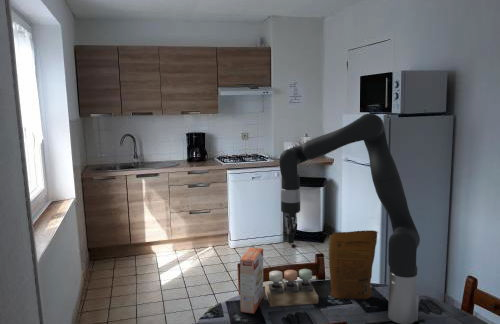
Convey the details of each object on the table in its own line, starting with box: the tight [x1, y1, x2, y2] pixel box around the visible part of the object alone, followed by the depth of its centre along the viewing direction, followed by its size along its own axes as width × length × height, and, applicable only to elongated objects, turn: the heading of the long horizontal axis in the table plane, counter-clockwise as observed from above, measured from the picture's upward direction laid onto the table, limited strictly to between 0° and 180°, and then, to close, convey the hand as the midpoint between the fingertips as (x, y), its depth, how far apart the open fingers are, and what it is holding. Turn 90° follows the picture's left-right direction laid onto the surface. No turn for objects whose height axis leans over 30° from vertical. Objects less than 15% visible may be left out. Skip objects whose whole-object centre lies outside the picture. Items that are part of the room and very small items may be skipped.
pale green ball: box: [298, 268, 313, 284], centre depth 163 cm, size 5×5×5 cm
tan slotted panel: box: [264, 280, 319, 307], centre depth 163 cm, size 19×13×5 cm
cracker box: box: [239, 247, 264, 315], centre depth 157 cm, size 14×6×21 cm, turn 164°
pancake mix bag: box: [328, 230, 378, 300], centre depth 161 cm, size 7×19×28 cm, turn 86°
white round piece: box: [268, 270, 284, 286], centre depth 162 cm, size 5×5×5 cm
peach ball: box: [283, 269, 298, 285], centre depth 163 cm, size 5×5×5 cm
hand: (290, 242), depth 161 cm, fingers closed
